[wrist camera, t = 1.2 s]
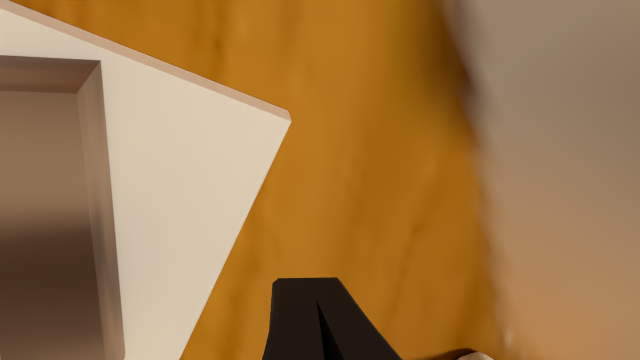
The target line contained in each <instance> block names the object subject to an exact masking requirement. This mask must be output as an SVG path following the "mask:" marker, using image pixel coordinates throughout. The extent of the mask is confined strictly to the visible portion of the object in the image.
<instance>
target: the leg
mask: <svg viewBox="0 0 640 360" xmlns="http://www.w3.org/2000/svg"><path fill="white" fill-rule="evenodd" d="M0 357H1V360H124V358H125V343H124V331H123V320H122V308H121V296H120V284H119V272H118V260H117V248H116V236H115V224H114V212H113V201H112V189H111V177H110V165H109V153H108V141H107V129H106V117H105V105H104V94H103V82H102V70H101V60H85V59H66V58H46V57H27V56H8V55H0Z"/></svg>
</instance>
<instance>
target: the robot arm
mask: <svg viewBox="0 0 640 360" xmlns="http://www.w3.org/2000/svg"><path fill="white" fill-rule="evenodd" d="M262 360H402V359H401V358H400V356H399V355H398V354H397V353H396V352H395V351H394V350H393V348H392V347H391V346H390V345H389V344H388V342H387V341H386V340H385V339H384V338H383V336H382V335H381V334H380V333H379V332H378V330H377V329H376V328H375V327H374V325H373V324H372V323H371V322H370V320H369V319H368V318H367V316H366V315H365V314H364V313H363V311H362V310H361V309H360V307H359V306H358V305H357V303H356V302H355V301H354V299H353V298H352V296H351V295H350V294H349V292H348V291H347V290H346V288H345V287H344V285H343V284H342V283H341V281H340V280H339V279H338V278H278V279H277V280H276V281H275V282H273V285H272V299H271V313H270V327H269V335H268V339H267V343H266V347H265V351H264V355H263V358H262Z"/></svg>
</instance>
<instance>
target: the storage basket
mask: <svg viewBox="0 0 640 360" xmlns="http://www.w3.org/2000/svg"><path fill="white" fill-rule="evenodd" d="M457 360H494V359H492V358H491V357H489V356H487V355H485V354H483V353H481V352H475V353H471V354H469V355H465V356H462V357H460V358H459V359H457Z"/></svg>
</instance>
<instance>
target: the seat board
mask: <svg viewBox="0 0 640 360" xmlns="http://www.w3.org/2000/svg"><path fill="white" fill-rule="evenodd" d="M0 55H8V56H27V57H46V58H66V59H85V60H101V70H102V82H103V94H104V105H105V117H106V129H107V141H108V153H109V165H110V177H111V189H112V201H113V212H114V224H115V236H116V248H117V260H118V272H119V284H120V296H121V308H122V320H123V331H124V343H125V358H124V360H179V359H180V357H181V354H182V352H183V350H184V348H185V346H186V344H187V342H188V340H189V338H190V335H191V333H192V331H193V329H194V327H195V325H196V323H197V321H198V318H199V316H200V314H201V312H202V310H203V308H204V306H205V304H206V301H207V299H208V297H209V295H210V293H211V291H212V289H213V287H214V284H215V282H216V280H217V278H218V276H219V274H220V272H221V270H222V268H223V265H224V263H225V261H226V259H227V257H228V255H229V253H230V251H231V248H232V246H233V244H234V242H235V240H236V238H237V236H238V234H239V231H240V229H241V227H242V225H243V223H244V221H245V219H246V217H247V214H248V212H249V210H250V208H251V206H252V204H253V202H254V200H255V198H256V195H257V193H258V191H259V189H260V187H261V185H262V183H263V181H264V178H265V176H266V174H267V172H268V170H269V168H270V166H271V164H272V161H273V159H274V157H275V155H276V153H277V151H278V149H279V147H280V144H281V142H282V140H283V138H284V136H285V134H286V132H287V130H288V128H289V125H290V123H291V119H290V115H289V112H288V110H285V109H282V108H280V107H277V106H275V105H272V104H270V103H267V102H265V101H262V100H260V99H257V98H255V97H252V96H250V95H247V94H244V93H242V92H239V91H237V90H234V89H232V88H229V87H227V86H224V85H222V84H219V83H217V82H214V81H211V80H209V79H206V78H204V77H201V76H199V75H196V74H194V73H191V72H189V71H186V70H184V69H181V68H179V67H176V66H173V65H171V64H168V63H166V62H163V61H161V60H158V59H156V58H153V57H151V56H148V55H146V54H143V53H140V52H138V51H135V50H133V49H130V48H128V47H125V46H123V45H120V44H118V43H115V42H113V41H110V40H108V39H105V38H102V37H100V36H97V35H95V34H92V33H90V32H87V31H85V30H82V29H80V28H77V27H75V26H72V25H69V24H67V23H64V22H62V21H59V20H57V19H54V18H52V17H49V16H47V15H44V14H42V13H39V12H37V11H34V10H31V9H29V8H26V7H24V6H21V5H19V4H16V3H14V2H11V1H9V0H0ZM0 360H1V357H0Z"/></svg>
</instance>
